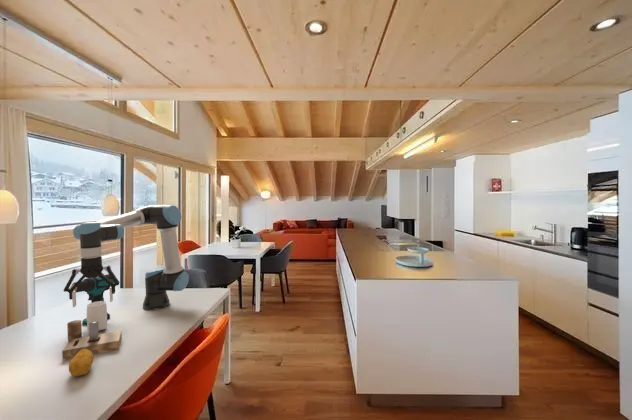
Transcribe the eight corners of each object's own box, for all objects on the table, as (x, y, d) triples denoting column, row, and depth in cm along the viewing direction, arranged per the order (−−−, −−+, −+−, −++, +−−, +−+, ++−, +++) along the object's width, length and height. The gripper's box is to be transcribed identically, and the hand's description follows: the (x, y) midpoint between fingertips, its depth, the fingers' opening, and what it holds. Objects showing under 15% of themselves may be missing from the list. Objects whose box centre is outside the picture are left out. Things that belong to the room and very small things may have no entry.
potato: (64, 384, 111) (63, 365, 111) (75, 365, 124) (74, 348, 124) (88, 379, 114) (87, 361, 114) (96, 361, 127) (96, 344, 127)
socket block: (121, 338, 148) (121, 330, 148) (119, 349, 138) (118, 340, 138) (69, 348, 139) (69, 339, 139) (62, 360, 128) (62, 350, 128)
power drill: (77, 332, 156) (75, 283, 155) (62, 331, 157) (61, 283, 157) (119, 314, 181) (118, 272, 180) (106, 313, 183) (105, 271, 182)
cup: (111, 328, 160) (110, 301, 160) (95, 335, 152) (94, 307, 152) (99, 326, 163) (98, 300, 163) (83, 333, 155) (82, 305, 155)
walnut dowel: (83, 339, 147) (82, 319, 147) (80, 344, 143) (80, 323, 143) (69, 342, 145) (68, 321, 145) (66, 346, 140) (66, 325, 140)
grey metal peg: (99, 346, 141) (98, 320, 140) (98, 349, 138) (97, 323, 137) (90, 348, 139) (89, 321, 139) (89, 351, 136) (88, 324, 136)
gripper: (124, 252, 146) (126, 296, 147) (58, 258, 135) (60, 305, 136) (123, 255, 140) (125, 301, 140) (53, 261, 128) (55, 311, 129)
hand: (93, 303), depth 138 cm, fingers open, 13 cm apart
